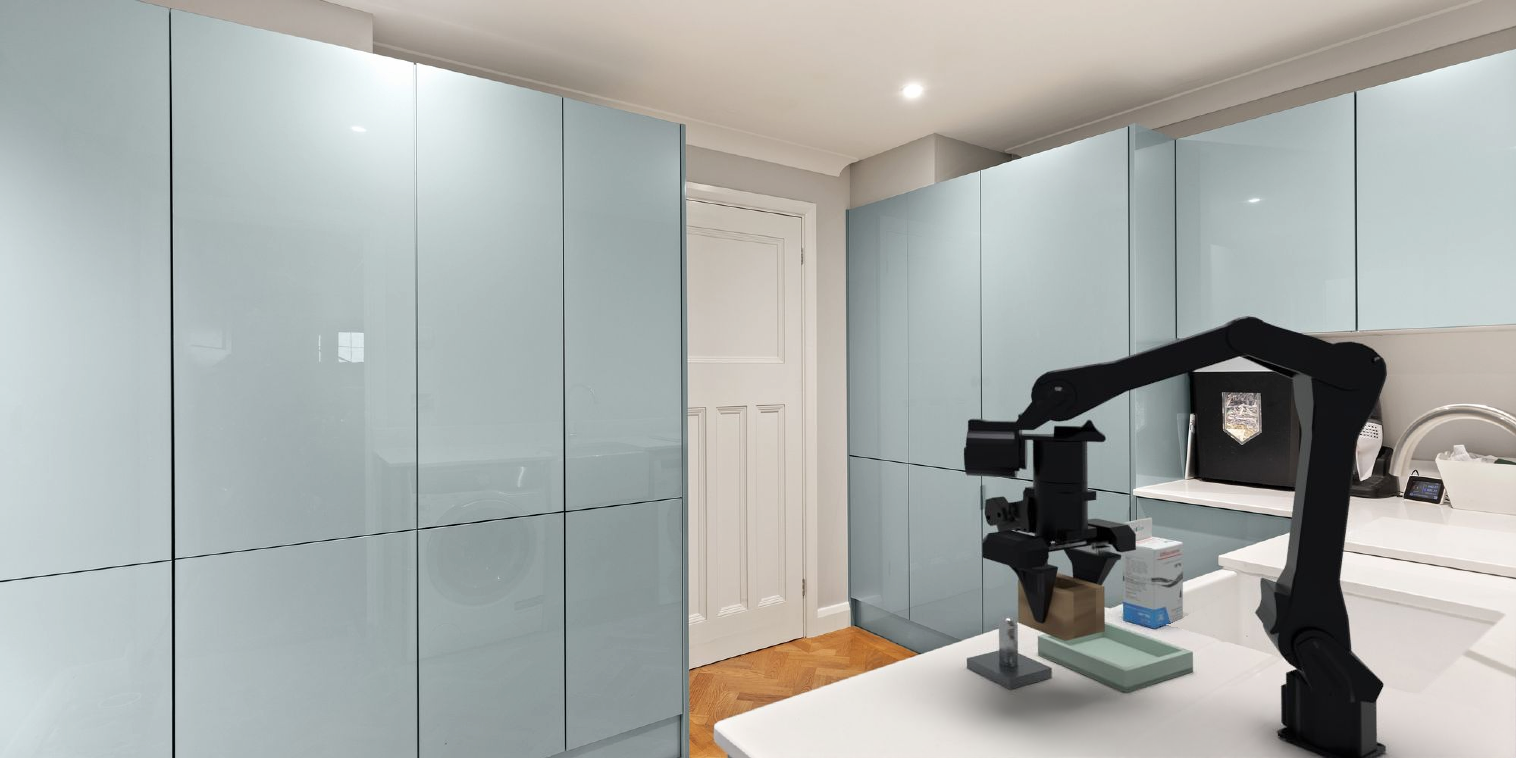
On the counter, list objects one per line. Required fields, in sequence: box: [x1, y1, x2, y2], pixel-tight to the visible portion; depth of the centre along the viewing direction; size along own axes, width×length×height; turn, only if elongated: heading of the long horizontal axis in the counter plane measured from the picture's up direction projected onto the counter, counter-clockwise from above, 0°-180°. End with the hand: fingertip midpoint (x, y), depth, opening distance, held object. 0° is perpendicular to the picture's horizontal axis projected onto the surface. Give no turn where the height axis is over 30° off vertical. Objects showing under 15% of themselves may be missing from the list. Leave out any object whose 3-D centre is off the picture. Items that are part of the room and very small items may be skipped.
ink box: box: [1122, 516, 1184, 629], centre depth 105 cm, size 8×5×15 cm, turn 123°
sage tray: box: [1037, 621, 1194, 693], centre depth 89 cm, size 13×13×2 cm
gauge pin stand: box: [966, 615, 1053, 690], centre depth 86 cm, size 7×7×7 cm
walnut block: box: [1017, 572, 1106, 641], centre depth 79 cm, size 6×6×5 cm
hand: (1060, 617), depth 79 cm, fingers closed on walnut block, 6 cm apart
